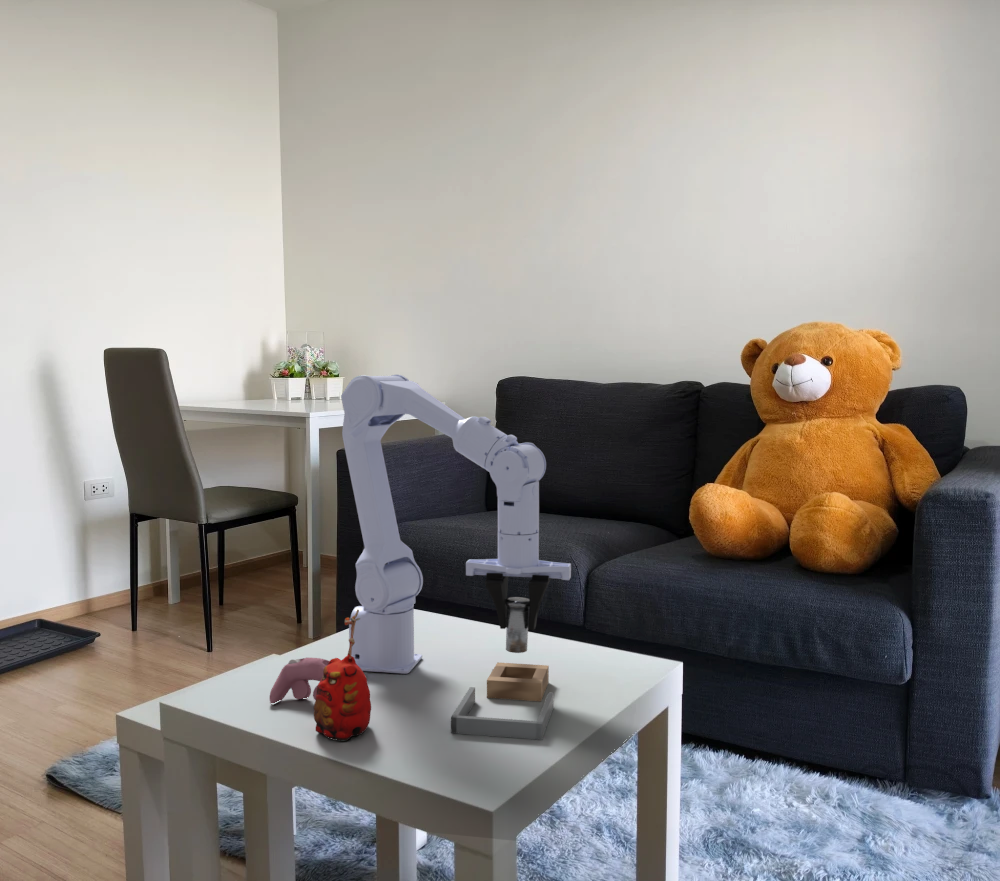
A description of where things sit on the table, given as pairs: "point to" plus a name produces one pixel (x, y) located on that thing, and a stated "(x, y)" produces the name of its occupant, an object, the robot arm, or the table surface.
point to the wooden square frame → (518, 681)
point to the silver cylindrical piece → (517, 624)
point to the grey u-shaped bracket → (499, 721)
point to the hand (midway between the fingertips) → (518, 627)
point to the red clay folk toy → (343, 696)
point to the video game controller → (298, 678)
